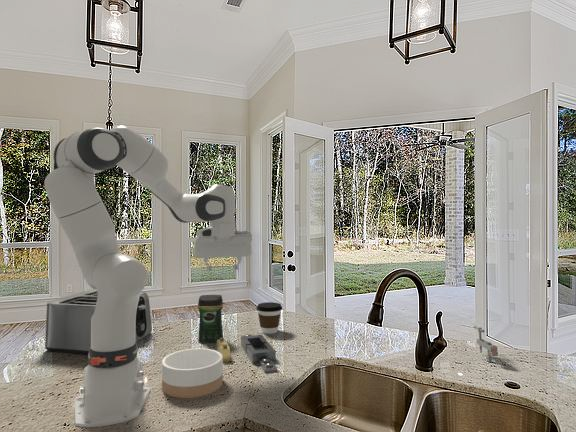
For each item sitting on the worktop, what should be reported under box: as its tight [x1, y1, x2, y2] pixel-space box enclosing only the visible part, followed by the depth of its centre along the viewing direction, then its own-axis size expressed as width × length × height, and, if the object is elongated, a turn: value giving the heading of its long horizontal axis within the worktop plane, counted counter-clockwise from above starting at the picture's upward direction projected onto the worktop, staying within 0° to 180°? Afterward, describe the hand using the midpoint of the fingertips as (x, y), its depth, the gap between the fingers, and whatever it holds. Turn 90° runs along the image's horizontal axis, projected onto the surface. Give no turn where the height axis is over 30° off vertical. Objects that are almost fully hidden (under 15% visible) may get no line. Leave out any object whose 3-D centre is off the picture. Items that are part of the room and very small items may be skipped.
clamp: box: [473, 325, 499, 363], centre depth 136 cm, size 15×2×10 cm, turn 177°
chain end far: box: [240, 333, 269, 354], centre depth 147 cm, size 17×8×4 cm, turn 19°
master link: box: [216, 337, 231, 362], centre depth 135 cm, size 11×3×6 cm, turn 18°
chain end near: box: [246, 342, 278, 374], centre depth 129 cm, size 17×8×4 cm, turn 19°
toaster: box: [44, 288, 153, 355], centre depth 149 cm, size 29×32×19 cm
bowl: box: [161, 347, 224, 399], centre depth 112 cm, size 17×17×8 cm
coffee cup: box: [256, 301, 283, 335], centre depth 163 cm, size 11×11×12 cm
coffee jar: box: [197, 294, 224, 344], centre depth 152 cm, size 10×8×19 cm
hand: (222, 270), depth 136 cm, fingers open, 8 cm apart
